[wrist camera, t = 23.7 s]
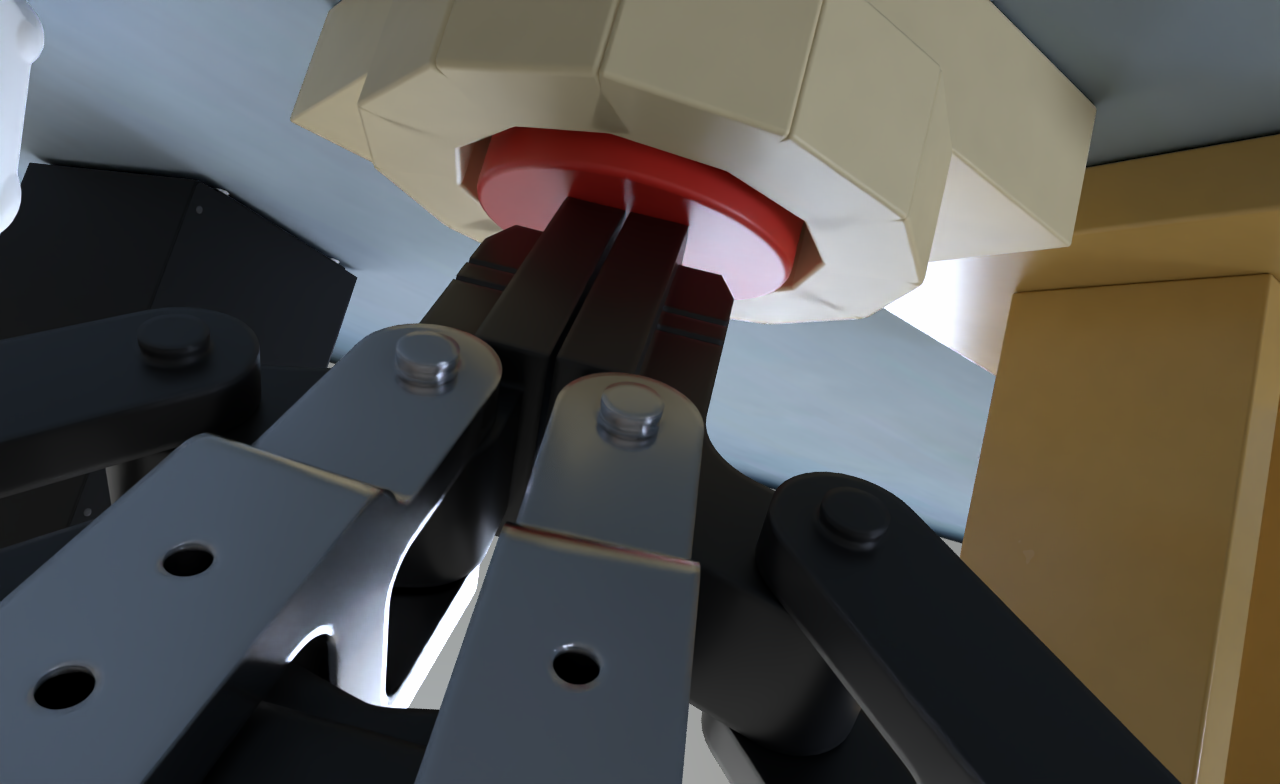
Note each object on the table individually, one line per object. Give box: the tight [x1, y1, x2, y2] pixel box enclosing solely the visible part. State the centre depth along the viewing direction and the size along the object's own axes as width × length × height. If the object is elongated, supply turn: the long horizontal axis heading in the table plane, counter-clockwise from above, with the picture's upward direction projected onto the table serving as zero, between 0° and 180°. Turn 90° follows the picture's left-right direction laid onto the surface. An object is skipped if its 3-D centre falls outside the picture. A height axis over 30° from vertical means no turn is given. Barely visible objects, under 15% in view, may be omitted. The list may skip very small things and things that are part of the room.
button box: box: [290, 0, 1097, 324], centre depth 15 cm, size 11×9×4 cm
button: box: [477, 126, 804, 300], centre depth 13 cm, size 4×4×2 cm
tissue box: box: [0, 163, 357, 549], centre depth 32 cm, size 8×8×28 cm
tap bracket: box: [884, 134, 1280, 784], centre depth 17 cm, size 11×9×15 cm
